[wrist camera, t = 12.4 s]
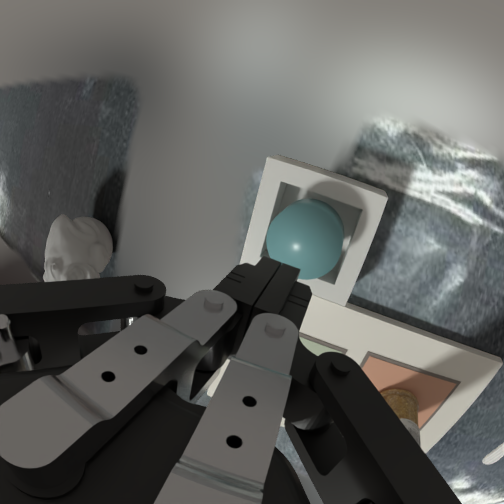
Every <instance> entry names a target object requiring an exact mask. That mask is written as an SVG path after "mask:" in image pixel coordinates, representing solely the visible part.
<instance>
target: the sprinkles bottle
mask: <svg viewBox="0 0 504 504" xmlns="http://www.w3.org/2000/svg"><path fill="white" fill-rule="evenodd" d="M380 394H381V395H382V396H383V398H384V399H385V400H386V402H387V403H388V404H389V406H390V407H391V408H392V410H393V411H394V412H395V414H396V415H397V416H398V418H399V419H400V420H401V422H402V423H403V424H404V426H405V427H406V428H407V430H408V431H409V432H410V434H411V435H412V436H413V438H414V439H415V440H416V442H417V443H418V445H419V446H420V447H421V443H420V430H419V426H418V410H419V403H418V400H417V398H416V397H415V396H414V395H413V394H412V393H411V392H409V391H406V390H402V389H390V390H385V391H383V392H381V393H380Z"/></svg>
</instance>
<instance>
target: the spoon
mask: <svg viewBox="0 0 504 504" xmlns="http://www.w3.org/2000/svg"><path fill="white" fill-rule="evenodd" d="M503 455H504V443H503V444H501V445H500V446H499V447H497V448H496V449H495V450H493V451H492V452H491V453H489V454H488V455H487V456H485V458H484V459H483V463H484V464H493V463H494V462H497V461H498V460H499V459H500V458H501V457H503Z"/></svg>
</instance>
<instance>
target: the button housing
mask: <svg viewBox="0 0 504 504" xmlns="http://www.w3.org/2000/svg"><path fill="white" fill-rule="evenodd" d="M301 199H317V200H321V201H323V202H325V203H327V204H329V205H330V206H331V207H333V208H334V209H335V210H336V212H337V213H338V214H339V216H340V218H341V220H342V222H343V225H344V242H343V246H342V251H341V255H340V258H339V260H338V262H337V264H336V265H335V266H334V268H333V269H332V270H331V271H330V272H328V273H327V274H325V275H324V276H321V277H319V278H316V279H310V280H302V279H298V280H297V282H300V283H303V284H306V285H308V286H310V289H311V292H312V294H313V295H316V296H318V297H321V298H324V299H326V300H329V301H332V302H334V303H337V304H340V305H342V306H345V305H346V303H347V300H348V298H349V296H350V294H351V291H352V289H353V287H354V284H355V282H356V280H357V277H358V275H359V273H360V270H361V268H362V265H363V263H364V260H365V258H366V256H367V253H368V251H369V248H370V245H371V243H372V240H373V238H374V235H375V233H376V230H377V227H378V225H379V222H380V219H381V216H382V214H383V211H384V208H385V205H386V203H387V200H388V197H387V194H386V192H385V191H384V190H381V189H379V188H376V187H373V186H371V185H368V184H365V183H363V182H360V181H357V180H354V179H351V178H349V177H346V176H343V175H340V174H337V173H334V172H331V171H328V170H325V169H322V168H319V167H316V166H313V165H310V164H307V163H304V162H300V161H297V160H294V159H291V158H287V157H284V156H281V155H276V156H271V157H267V160H266V164H265V168H264V172H263V175H262V179H261V183H260V187H259V191H258V195H257V199H256V203H255V206H254V210H253V214H252V218H251V222H250V226H249V230H248V234H247V238H246V241H245V245H244V249H243V253H242V257H241V261H240V264H243V263H249V264H252V265H254V266H255V265H256V264H257V263H258V262H259V260H260V259H261V258H262V257H263V256H266V257H269V258H270V256H269V253H268V250H267V244H266V238H267V232H268V229H269V226H270V224H271V222H272V221H273V220H274V218H275V217H276V216H277V215H278V214H279V213H281V212H282V211H283V210H284V209H285V208H286V207H287V206H289V205H290V204H291V203H293V202H295V201H298V200H301Z"/></svg>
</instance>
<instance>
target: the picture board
mask: <svg viewBox="0 0 504 504" xmlns="http://www.w3.org/2000/svg"><path fill="white" fill-rule="evenodd" d="M299 338H300V340H301V342H302V344H303V345H304V346H305V347H306V348H307V349H308V350H309V351H311V352H312V353H314V354H315V355H317V356H319V355H320V354H322V353H324V352H331V351H332V352H339V353H342V354H345V355H347V356H349V357H350V358H352V359H353V360H354V361H355V362H357V364H358V365H359V366H360V367H361V369H362V370H363V371H364V373H365V374H366V375H367V376H368V378H369V379H370V380H371V382H372V383H373V384H374V386H375V387H376V388H377V390H378V391H379V392H380V393H381V392H383V391H385V390H390V389H402V390H406V391H409V392H411V393H412V394H413V395H414V396H415V397H416V398H417V400H418V403H419V410H418V426H419V430H420V443H421V449H422V450H423V451H424V453H426V452H427V451H429V450H430V449H431V448H432V447H433V446H434V445H435V444H436V443H437V442H438V441H439V440H440V439H441V438H442V437H443V436H444V435H445V433H446V432H447V431H448V430H449V429H450V428H451V427H452V426H453V425H454V424H455V423H456V422H457V421H458V419H459V418H460V417H461V416H462V415H463V414H464V413H465V412H466V410H467V409H468V408H469V407H470V406H471V405H472V403H473V402H474V401H475V400H476V398H477V397H478V396H479V395H480V394H481V392H482V391H483V390H484V389H485V387H486V386H487V385H488V383H489V382H490V381H491V379H492V378H493V377H494V375H495V374H496V373H497V371H498V370H499V369H500V367H501V366H502V364H503V362H502V360H501V358H500V357H498V356H495V355H492V354H489V353H486V352H483V351H481V350H478V349H475V348H472V347H469V346H466V345H464V344H461V343H458V342H455V341H452V340H450V339H447V338H444V337H441V336H438V335H436V334H433V333H430V332H427V331H425V330H422V329H419V328H416V327H413V326H411V325H408V324H405V323H402V322H400V321H397V320H394V319H392V318H389V317H386V316H383V315H381V314H378V313H375V312H372V311H370V310H367V309H364V308H362V307H359V306H356V305H353V304H351V303H348V302H347V303H346V305H345V306H342V305H340V304H337V303H334V302H332V301H329V300H326V299H324V298H321V297H318V296H316V295H313V294H312V297H311V300H310V302H309V305H308V308H307V311H306V314H305V317H304V319H303V322H302V325H301V328H300V330H299ZM229 362H230V360H229V359H227V360H226V362H225V363H224V365H223V366H222V367H221V370H220V373H219V375H218V377H217V378H216V379H215V380H214V382H213V383H212V384H211V385H210V386H209V388H208V392H207V395H208V396H211V397H212V396H213V394H214V392H215V390H216V388H217V386H218V384H219V382H220V380H221V378H222V376H223V374H224V372H225V370H226V368H227V366H228V364H229ZM284 421H285V418H283V417H282V421H281V424H280V426H283V427H285V426H284Z"/></svg>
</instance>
